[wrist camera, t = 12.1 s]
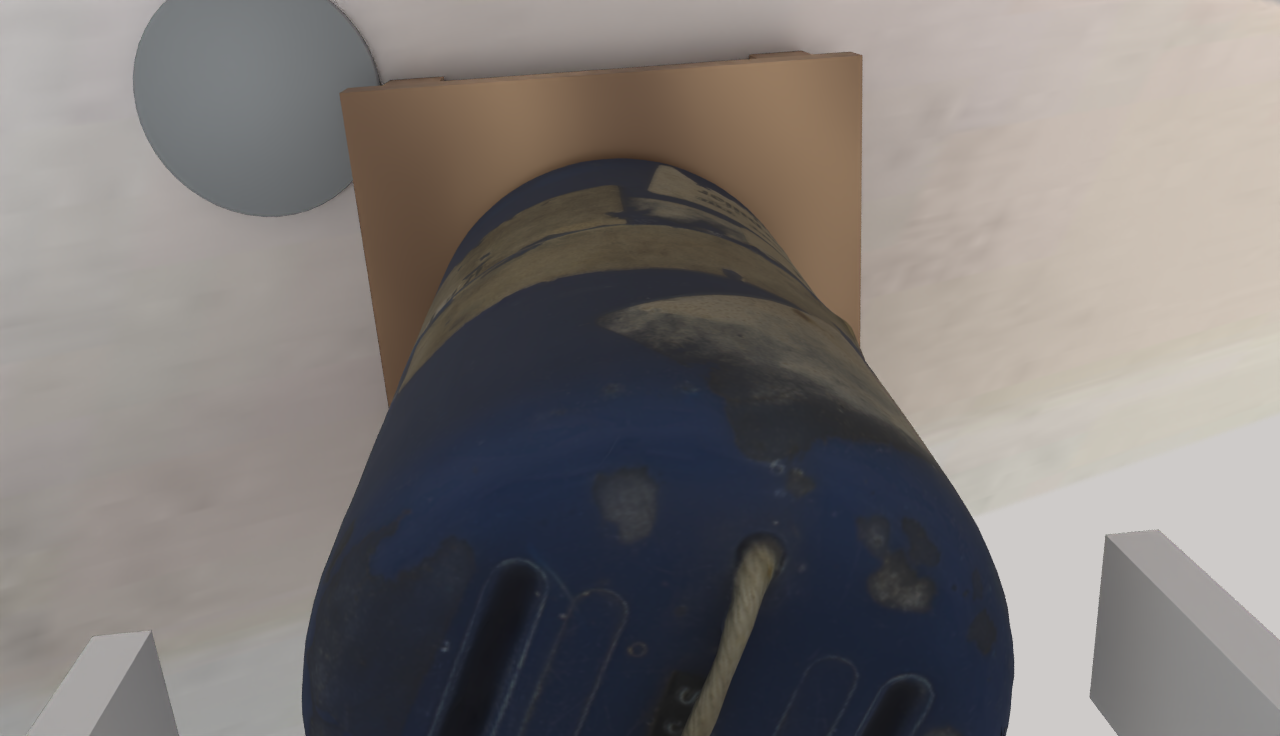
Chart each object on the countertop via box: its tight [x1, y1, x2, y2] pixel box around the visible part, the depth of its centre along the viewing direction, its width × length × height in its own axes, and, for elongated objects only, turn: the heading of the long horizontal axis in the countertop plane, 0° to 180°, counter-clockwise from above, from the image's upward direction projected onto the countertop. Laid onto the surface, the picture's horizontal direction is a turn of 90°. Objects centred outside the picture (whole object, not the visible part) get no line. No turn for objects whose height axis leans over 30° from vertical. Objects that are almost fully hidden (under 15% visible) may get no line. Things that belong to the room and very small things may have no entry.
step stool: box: [339, 51, 862, 407], centre depth 32 cm, size 13×13×6 cm
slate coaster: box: [133, 0, 380, 217], centre depth 32 cm, size 7×7×1 cm
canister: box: [302, 158, 1014, 736], centre depth 21 cm, size 10×10×18 cm
